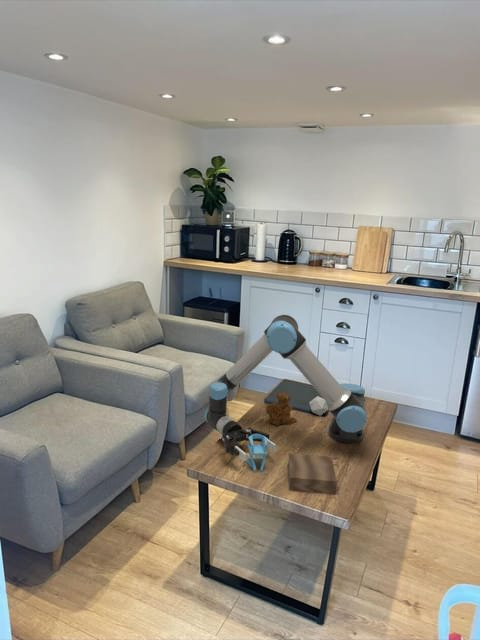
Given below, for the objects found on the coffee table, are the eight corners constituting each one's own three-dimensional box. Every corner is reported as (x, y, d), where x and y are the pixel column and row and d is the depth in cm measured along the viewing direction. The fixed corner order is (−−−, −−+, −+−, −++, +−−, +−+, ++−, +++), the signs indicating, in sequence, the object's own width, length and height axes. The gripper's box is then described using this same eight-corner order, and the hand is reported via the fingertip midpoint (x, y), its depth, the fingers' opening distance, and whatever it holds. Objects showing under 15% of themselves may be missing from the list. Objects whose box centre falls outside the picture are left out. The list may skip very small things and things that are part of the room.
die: (311, 409, 230) (304, 397, 224) (327, 402, 228) (321, 390, 223) (316, 421, 223) (309, 410, 217) (332, 414, 222) (326, 402, 216)
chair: (248, 472, 172) (250, 443, 169) (244, 460, 180) (246, 432, 177) (268, 471, 174) (270, 442, 171) (264, 459, 182) (265, 431, 179)
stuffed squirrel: (297, 421, 214) (300, 395, 211) (277, 430, 205) (279, 402, 202) (281, 413, 221) (283, 388, 218) (260, 422, 212) (262, 395, 209)
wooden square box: (330, 468, 177) (331, 456, 176) (335, 493, 162) (337, 481, 161) (287, 465, 178) (288, 453, 177) (289, 490, 163) (290, 477, 162)
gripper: (253, 430, 198) (285, 453, 181) (202, 444, 185) (231, 471, 168) (254, 414, 197) (286, 435, 180) (203, 427, 183) (232, 452, 166)
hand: (260, 452), depth 174 cm, fingers open, 13 cm apart
